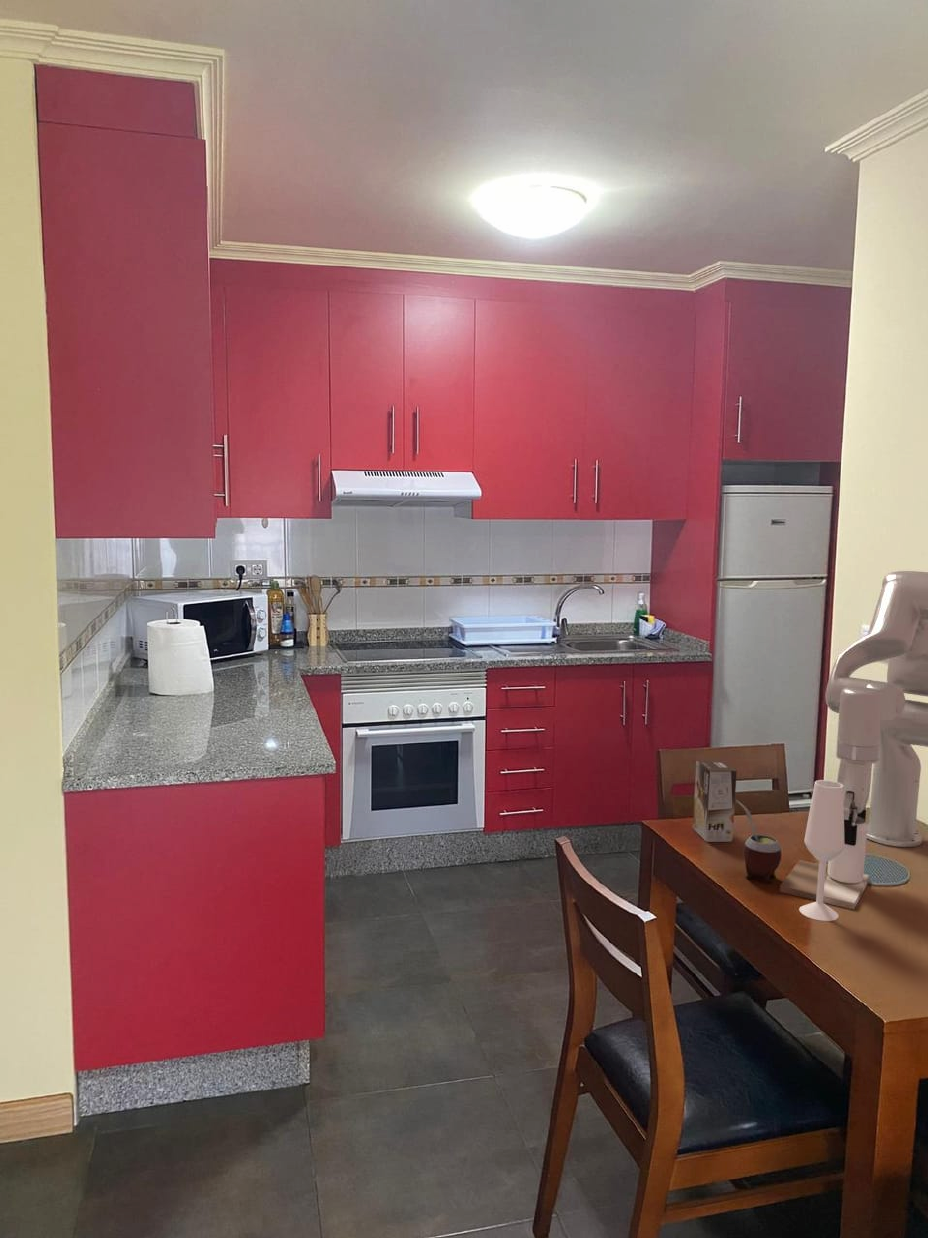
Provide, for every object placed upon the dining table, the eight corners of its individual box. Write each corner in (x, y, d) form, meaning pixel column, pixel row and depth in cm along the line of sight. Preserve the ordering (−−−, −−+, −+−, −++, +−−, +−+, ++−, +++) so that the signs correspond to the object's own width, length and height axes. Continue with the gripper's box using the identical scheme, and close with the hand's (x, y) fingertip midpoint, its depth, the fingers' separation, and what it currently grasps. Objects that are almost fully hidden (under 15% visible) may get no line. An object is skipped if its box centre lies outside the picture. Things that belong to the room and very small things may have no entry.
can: (858, 887, 172) (863, 826, 171) (823, 879, 176) (828, 819, 175) (866, 877, 177) (871, 818, 176) (831, 869, 181) (836, 811, 180)
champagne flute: (845, 914, 163) (856, 785, 160) (826, 924, 159) (837, 792, 156) (811, 901, 168) (821, 776, 165) (791, 910, 164) (801, 782, 161)
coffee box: (733, 842, 198) (738, 771, 196) (705, 842, 197) (709, 771, 195) (717, 827, 207) (722, 759, 205) (690, 828, 206) (695, 759, 204)
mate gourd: (786, 884, 176) (791, 809, 174) (749, 886, 174) (754, 811, 173) (765, 869, 183) (770, 797, 181) (730, 871, 182) (735, 799, 180)
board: (799, 865, 186) (799, 859, 186) (868, 881, 179) (869, 875, 179) (779, 891, 172) (780, 885, 172) (853, 909, 165) (854, 903, 165)
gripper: (845, 737, 183) (839, 818, 186) (827, 758, 169) (821, 846, 171) (885, 743, 179) (879, 826, 182) (871, 765, 165) (864, 855, 167)
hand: (851, 835), depth 177 cm, fingers open, 9 cm apart
